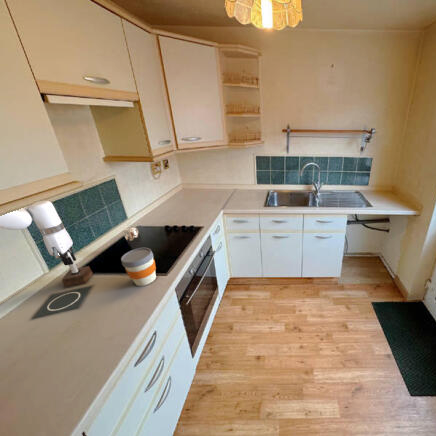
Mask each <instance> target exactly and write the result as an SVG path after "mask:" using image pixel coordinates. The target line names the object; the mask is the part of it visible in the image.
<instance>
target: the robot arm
mask: <svg viewBox="0 0 436 436" xmlns="http://www.w3.org/2000/svg"><path fill="white" fill-rule="evenodd" d="M35 202H36V203H34V202H33V203H34V204H32V205H29V206H26V207H24V208H21V209H19V210H16V211H13V212H10V213H7V214H5V215H2V216H0V228H1V229H4V230H11V231H19V230H24V229H27V228H28V227H29V226H30V225H31V224H32V222H33V221H34V223H35V225H36V227H37V228H38V230H39V232H40V234H41V235H42V240H43V244H44V245H45V248H46V250H47V252H48V253H49V256H52V257H53V256H54V258H55V259H56V260H57V259H59V260H61V262H62V263H63V265H64V266H69V265H71V264H73V261H74V262H76V261H77V258H76V256H75V254H74V250H73V248H72V247H73V244H74V241H73V239H72V238H71V235H70V234H69V232H68V231H67V230H66V227H65V226H64V223H63V222H62V220H61V218H60V216H59V214H58V212H57V210H56V208H55V206H54V204H53V203H52V202H51V201H50V200H40V201H35ZM67 252H69V253H70V255H71V257H72V259H73V261H72V259H71V257H69V256H68V254H67ZM63 254H64V255H63Z"/></svg>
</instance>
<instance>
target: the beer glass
mask: <svg viewBox="0 0 436 436" xmlns="http://www.w3.org/2000/svg"><path fill="white" fill-rule="evenodd" d="M123 235H124V238H125V240H126V242H127V244H128V246H129V247H130V249H131V250H134V249H138V248H144V247H143V244H142V238H141V234H140V231H139V229H138V227H133V226H132V227H128V228H126V229H124V230H123Z"/></svg>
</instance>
